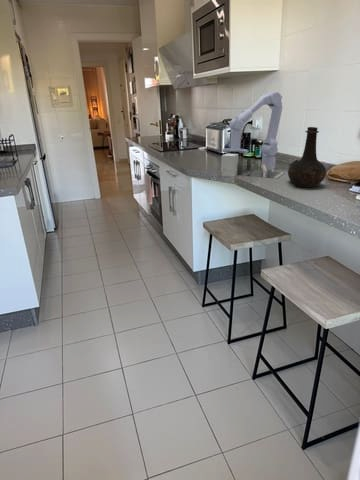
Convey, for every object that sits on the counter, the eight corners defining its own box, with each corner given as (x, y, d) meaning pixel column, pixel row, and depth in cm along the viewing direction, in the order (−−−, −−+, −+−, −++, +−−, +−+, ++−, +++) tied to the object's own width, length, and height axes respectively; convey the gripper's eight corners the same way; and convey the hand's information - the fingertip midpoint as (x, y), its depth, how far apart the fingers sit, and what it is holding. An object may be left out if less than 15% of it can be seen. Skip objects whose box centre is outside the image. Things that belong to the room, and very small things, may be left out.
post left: (238, 176, 195) (239, 162, 192) (242, 176, 194) (243, 162, 191) (237, 176, 193) (237, 162, 190) (241, 177, 192) (241, 163, 189)
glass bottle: (294, 179, 183) (300, 125, 172) (329, 184, 172) (337, 126, 161) (280, 186, 170) (286, 127, 159) (316, 191, 159) (325, 129, 149)
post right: (247, 171, 206) (247, 158, 203) (250, 171, 205) (251, 158, 202) (245, 172, 204) (246, 158, 201) (249, 172, 203) (250, 159, 200)
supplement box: (238, 176, 194) (239, 153, 190) (233, 178, 189) (234, 155, 184) (226, 175, 198) (226, 153, 193) (221, 177, 192) (221, 155, 187)
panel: (255, 172, 203) (255, 165, 202) (285, 174, 195) (286, 167, 193) (245, 178, 190) (245, 170, 188) (277, 180, 181) (278, 173, 180)
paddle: (265, 172, 193) (262, 164, 193) (267, 171, 193) (264, 163, 192) (263, 173, 191) (260, 165, 190) (265, 172, 190) (262, 164, 190)
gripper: (220, 141, 195) (220, 165, 200) (245, 142, 188) (243, 167, 193) (225, 140, 200) (225, 163, 205) (249, 141, 193) (248, 165, 199)
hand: (234, 165), depth 200 cm, fingers closed
